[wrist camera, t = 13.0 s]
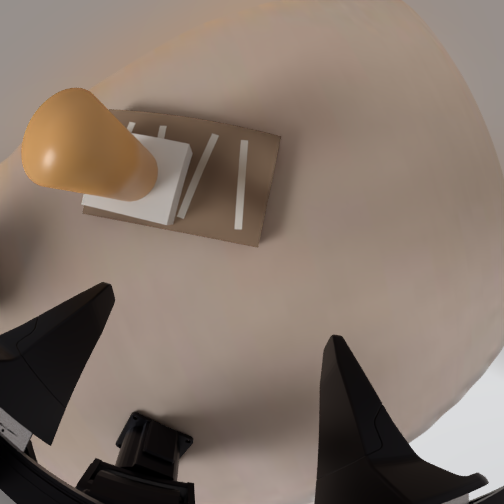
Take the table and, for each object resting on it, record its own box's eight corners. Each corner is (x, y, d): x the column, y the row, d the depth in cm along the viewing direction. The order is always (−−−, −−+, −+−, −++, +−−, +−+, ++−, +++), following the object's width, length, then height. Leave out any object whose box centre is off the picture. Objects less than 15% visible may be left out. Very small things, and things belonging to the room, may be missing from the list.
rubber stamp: (173, 224, 18) (113, 231, 7) (96, 205, 17) (-12, 197, 6) (192, 153, 17) (164, 72, 7) (115, 138, 17) (30, 71, 6)
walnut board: (255, 245, 20) (258, 247, 19) (91, 213, 18) (82, 213, 17) (276, 142, 19) (281, 136, 18) (115, 115, 18) (109, 109, 16)
